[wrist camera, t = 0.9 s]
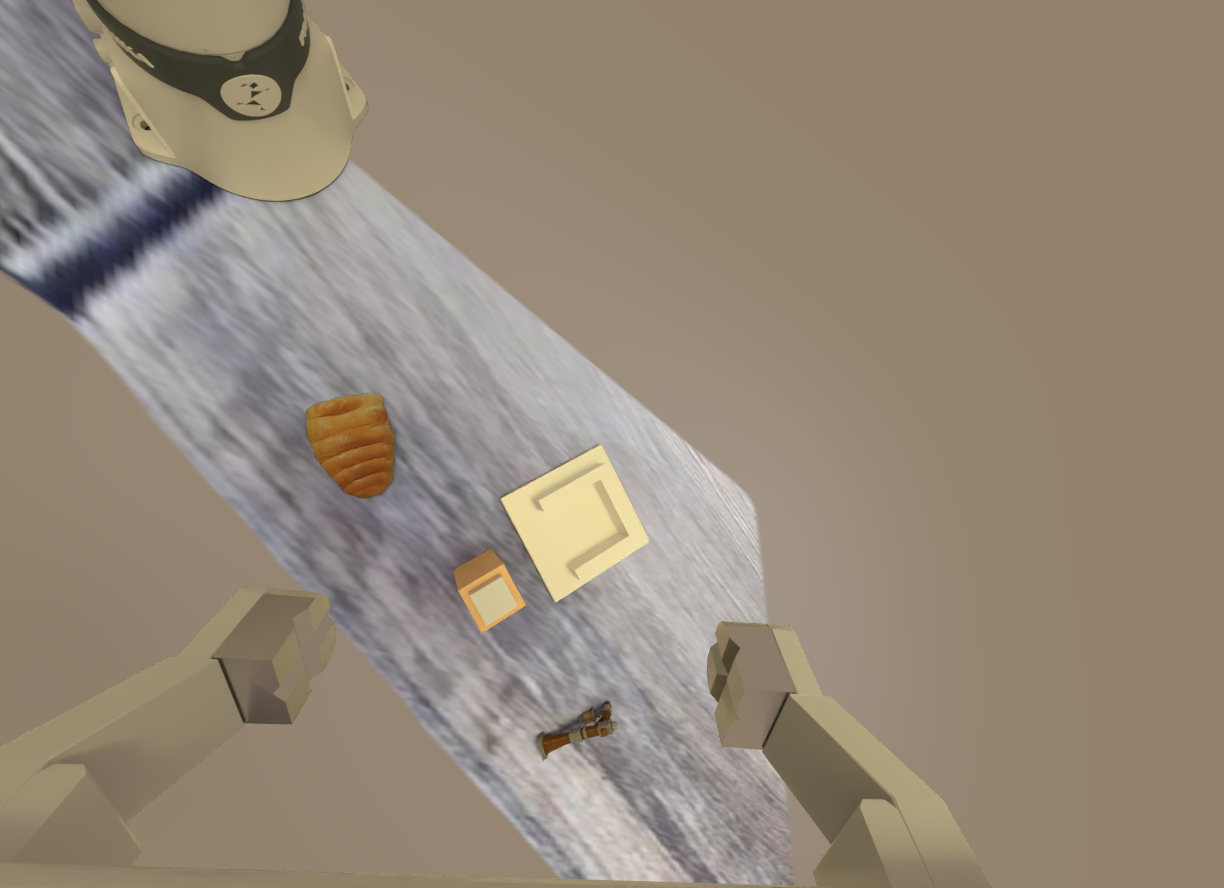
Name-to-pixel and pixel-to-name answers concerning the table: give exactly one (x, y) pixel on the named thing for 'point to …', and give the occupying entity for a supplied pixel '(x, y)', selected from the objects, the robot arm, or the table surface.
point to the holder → (575, 521)
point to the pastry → (353, 442)
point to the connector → (487, 590)
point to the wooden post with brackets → (579, 731)
